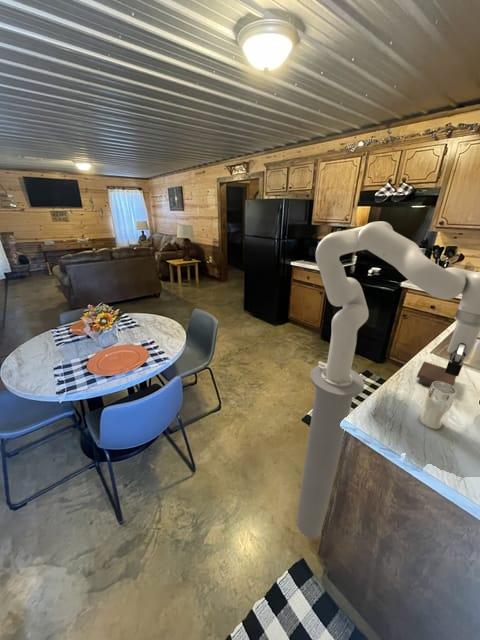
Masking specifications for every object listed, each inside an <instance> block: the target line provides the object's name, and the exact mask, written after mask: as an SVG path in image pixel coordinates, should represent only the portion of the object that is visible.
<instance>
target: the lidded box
mask: <svg viewBox="0 0 480 640" xmlns="http://www.w3.org/2000/svg"><path fill="white" fill-rule="evenodd" d="M446 368H447V367H443V366H440V365H437V364H434V363H430V362H427V361H423V363H422V365H421V366H420V369H419V370H418V373H417V375H416V377H417V378H418V381H417V383H418V384H421V385H424V386H426V387H428V388H430V386H431V384H432V382H434V381H440V382H445V383H447V384H449V385H451V386H453V387H454V385H455V382H456V379H457V376H454V375H451V374H448V373H445V370H446Z"/></svg>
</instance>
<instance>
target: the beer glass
mask: <svg viewBox="0 0 480 640" xmlns="http://www.w3.org/2000/svg"><path fill="white" fill-rule="evenodd" d="M457 391H458V390H457V388H455V387H454V386H451V385H449V384H447V383H445V382H440V381H434V382H432V384H431V386H430V387H428V391H427V393H426V397H425V404H424V410H423V412H422V414H421V415H420V417H419V420H420V422H421V423H422V424H423V425H424V426H426V427H427V428H429V429H432V430H433V429H434V430H438V429H441V427H442V423H443V419H444V417H445V416H446V414H447V413H448V412H449V410H450V409H451V408H452V406H453V403H454V401H455V399H456V395H457V393H458V392H457Z"/></svg>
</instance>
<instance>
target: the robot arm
mask: <svg viewBox="0 0 480 640" xmlns="http://www.w3.org/2000/svg"><path fill="white" fill-rule="evenodd" d="M365 250H367V251H368V252H370V253H372V255H375V256H377V258H379V259H381V260H383V261H384V262H386V263H387V264H388V265H391V266H392V267H393V268H395V269H396V270H397V271H398V272H399V273H400V274H401V275H402V276H403V277H404V278H405V279H407V281H408V282H410V283H411V284H413V285H414V286H415V287H417V288H419V289H420V290H422V291H423V292H425V293H426V294H429V295H430V296H432V297H434V298H436V299H439V300H451V299H454V298H457V297H458V296H459V295H462V296H461V298H460V301H459V305H458V307H457V310H456V313H455V315H454V321H456V322H457V323H456V325H455V327H454V330H453V332H452V335H451V339H450V341H449V345H448V347H447V350H446V352H447V353H448V354H450V357H449V360H448V362H447V365H446V367H445V368H446V370H445V373H448V374H451V375H454V376H456V377H459V375H460V373H461V371H462V368H463V363H464V360H465V358H468V357H469V356H470V353H471V351H472V349H473V347H474V345H475V344H476V341H477V339H478V336H479V334H480V271H473V270H468V269H464V268H460V267H454V266H449V267H445V268H444V267H442V266H441V265H439V264H437V263H435V262H434V261H432V260H431V259H429V257H428V256H426V255H425V254H424V252H423V251H422V250H421V247H419V245H418V244H417V243H416V242H414V240H413V241H412V239H409V238H407V237H405V236H403V235H402V234H400V233H398V232H396V231H395V230H394V228H393V226H392V225H391V224H390V223H389V222H387V221H382V220H381V221H379V220H378V221H372V222H369V223H366V224H365V225H362V226H358V227H355V228H350V229H345V230H339V231H334V232H331V233H329V234H327V235H326V236H324V237H323V238H322V239H321V240H320V241H319V242H318V245H317V247H316V250H315V261H316V265H317V268H318V271H319V273H320V277H321V280H322V285H323V287H324V291H325V294H326V297H327V300H328V302H329V303H330V304H331V305H332V306H333V307H342V309H339V310H338V311H337V312H336V313H335V314H334V315H333V316H332V319H331V335H330V343H329V347H328V348H329V349H328V356H327V362H323V361H321V360H319V361H318V362H317V366H318V365H319V366H318V368H319V369H322V370H323V371H322V374H321V376H322V379H323V380H324V381H325V382H326V383H328V384H330V385H332V386H336V387H347V386H350V385H351V384H352V382H353V378H352V376H351V375H350V372H351V370H352V366H353V363H354V357H355V352H356V347H357V343H358V342H357V339H358V331H359V329H360V328H361V327H362V326H363V325H364V324H365V323H366V322H367V321H368V319H369V315H370V313H369V308H368V305H367V301H366V297H365V294H364V291H363V288H362V285H361V284H360V282H359V281H358V280H357V279H356V278H354V277H350V276H349V277H348V276H347V275H346V274H347V273H346V270H345V267H344V265H343V263H342V262H341V259H340V257H341V256H344V255H347V254H351V253H356V252H360V251H365Z"/></svg>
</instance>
